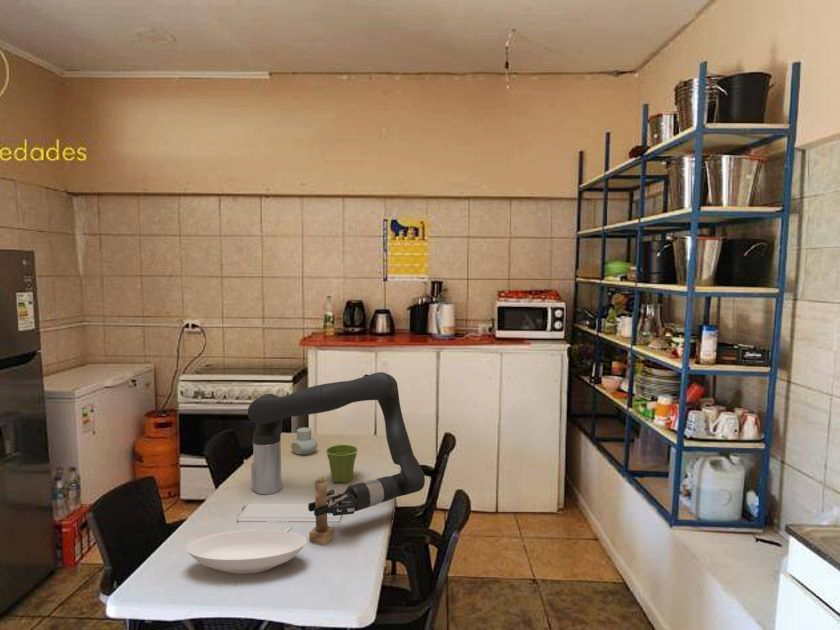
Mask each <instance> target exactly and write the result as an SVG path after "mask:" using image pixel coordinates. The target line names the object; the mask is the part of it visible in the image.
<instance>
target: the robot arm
mask: <svg viewBox="0 0 840 630" xmlns="http://www.w3.org/2000/svg"><path fill="white" fill-rule="evenodd" d="M366 401H377V402H378V404H379V407H380V408H381V412H382V415H383V419H384V426H385V436H386V441H387V446H388V450H389V453H390V456H391V457H390V458H391V460H392V462H393V464H395V465H398V466H399V467H400V469H401V471H402V472H398V473H395V474H393V475H391V476H382V477H379V478H375V479H368V480H365V481H361V482H358V483H353V484H350V485H348V486H347V488H346V490H345V491H340V492H335V490H334V489H330V490H329V491H328V490H327V505H324V506H320V507H317V508H315V501H313V502H310V503H309V502H308V503H307V504H308V510H309V511H310V512H311V511H314V515H315V516H316V517H317V516H320V515H323V514H327V513H328V514H333V516H338V515H342V516H344V515H353V514H355V512H358V511H362V510H365V509H368V508H371V507H374V506H377V505H379V504H381V503H385V502H388V501H391V500H392V499H395V498H398V497H402V496H406V495H410V494H413V493H417V492H420V491H422V490H423V488H424V487H425V484H426V483H425V482H426V480H425V479H426V477H425V473H424V471H423V468H422V466H421V465H420V463H419V461H418V459H417V458H416V456H415V454H414V452H413V448H412V445H411V441H410V438H409V435H408V431H407V428H406V425H405V421H404V418H403V413H402V408H401V403H400V396H399V387H398V382H397V380H396V378H394V376H392V375H391V374H389V373H387V372H382V371H378V372H374V373H371V374H368V375H364V376H362V377H359V378H355V379H351V380H344V381H334V382H328V383H323V384H318V385H313V386H310V387H307V388H302V389H301V390H297V391H295V392H292V393H290V394H287V395H283V396H277V395H276V394H273V393H266V394H263V395H260V396H259V397H257V398H256V399H254V400H253V401H252V402H251V403H250V404H249V406H248V407H247V408H248V409H247V413H246V414H247V417H248V419H249V420H250V421H251V422H253V424H256V428H255V431H254V432H253V435H252V448H253V453H252V455H253V460H252V461H253V462H252V463H251V464H250V469H251V471H250V472H251V491H254V493H256V494H260V495H271V494H275V493H277V492H280V491H281V490H282V488H283V487H282V447H281V445H282V444H281V443H282V441H281V437H282V436H281V435H282V432H283V420H284V419H287V418H292V417H293V418H294V417H300V416H309V415H315V414H320V413H326V412H331V411H335V410H337V409H340V408H342V407H346V406H349V405H350V404H352V403H357V402H366Z"/></svg>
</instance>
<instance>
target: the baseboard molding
mask: <svg viewBox="0 0 840 630" xmlns="http://www.w3.org/2000/svg"><path fill="white" fill-rule="evenodd" d="M308 504H309V503H248V504H247V505H244V506H243V507H242V508H241V513H240V514H238V515H237V517H239V518H237V520H236V524H238V523H268V522H267V521H277V522H276V523H279V522H278V521H281V522H280V523H316V516H315V515H314V511H311V512H310V511H309V510H308ZM341 516H342V517H343V515H338V516H333V514H328V513H327V523H340V522H341V520H342V517H341ZM340 519H341V520H340ZM282 521H284V522H282ZM286 521H288V522H286Z"/></svg>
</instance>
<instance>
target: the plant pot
mask: <svg viewBox="0 0 840 630" xmlns="http://www.w3.org/2000/svg"><path fill="white" fill-rule="evenodd" d="M358 451H359V448H358V447H357V446H356V445H352V444H335V445H334V444H333V445H331V446H329V447H326V448H325V453H326V454H327V459H328V461H329V462H328V463H329V469H330V476H331V480H332V481H333V482H335V483H337V484H338V483H347V482H348V483H349V482H350V481H352V479H353V473H354V468H355V467H354V466H355V461H356V458H357V453H358Z"/></svg>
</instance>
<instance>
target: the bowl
mask: <svg viewBox="0 0 840 630" xmlns="http://www.w3.org/2000/svg"><path fill="white" fill-rule="evenodd" d="M306 544H307V539H306V537H305V536H303V535H302V534H299V533H296V532H291V531H288V532H287V531H285V530H279V529H248V530H247V529H244V530H243V529H242V530H236V531H228V532H226V531H225V532H222V533H215V534H212V535H208V536H207V535H206V536H204V537H200V538H199V539H195V540H193V541H192V542H190V543H189V544H188V545H187V546H186V551H187V553H188V554H189V555H190V556H191V557H192V558H193V559H194V560H195V561H196V562H198V563H200V564H201V565H203V566H206V567H208V568H211V569H214V570H218V571H222V572H224V573H227V574H228V573H229V574H236V575H237V574H239V575H242V574H243V575H247V574H256V573H261V572H265V571H268V570H270V569H273V568H274V567H277V566H280V565H281V564H284V563H286V562H288V561H290V560H291V559H293V558H294V557H295V556H296V555H298V553H300V552H301V550H302V549H303V548H304V547H305V546H306Z"/></svg>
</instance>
